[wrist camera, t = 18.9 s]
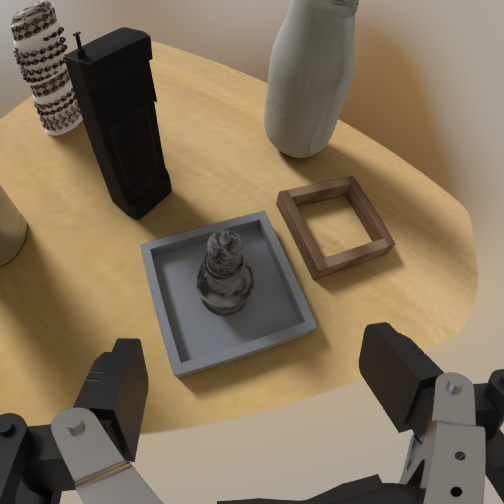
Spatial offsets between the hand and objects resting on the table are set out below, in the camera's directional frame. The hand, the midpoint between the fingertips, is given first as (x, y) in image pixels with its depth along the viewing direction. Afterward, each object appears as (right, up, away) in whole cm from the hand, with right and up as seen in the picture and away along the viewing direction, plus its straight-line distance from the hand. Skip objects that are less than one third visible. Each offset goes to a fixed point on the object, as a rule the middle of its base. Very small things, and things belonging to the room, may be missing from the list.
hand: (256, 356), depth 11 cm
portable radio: (-15, +11, +31) cm, 36 cm away
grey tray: (-3, -1, +24) cm, 25 cm away
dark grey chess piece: (-3, -1, +24) cm, 24 cm away
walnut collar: (+10, +7, +30) cm, 32 cm away
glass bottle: (+6, +20, +37) cm, 43 cm away
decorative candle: (-35, +28, +38) cm, 59 cm away
